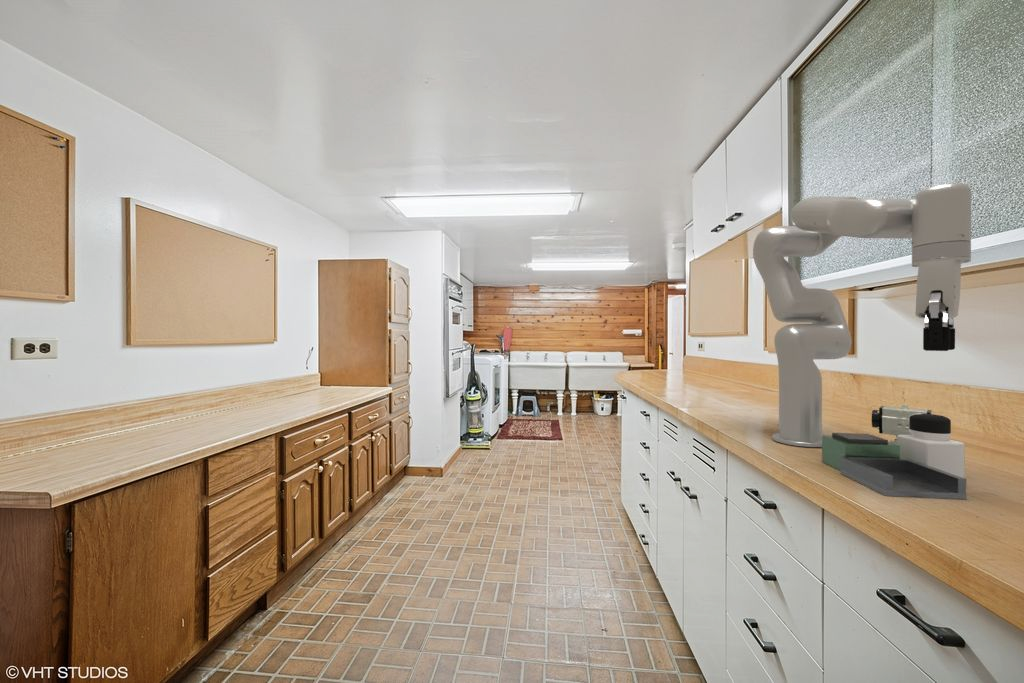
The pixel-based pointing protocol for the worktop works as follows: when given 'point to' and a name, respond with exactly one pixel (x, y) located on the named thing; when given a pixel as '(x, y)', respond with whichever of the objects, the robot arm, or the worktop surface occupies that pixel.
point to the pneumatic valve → (894, 419)
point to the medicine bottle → (933, 444)
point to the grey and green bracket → (887, 468)
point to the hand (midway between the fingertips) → (939, 350)
